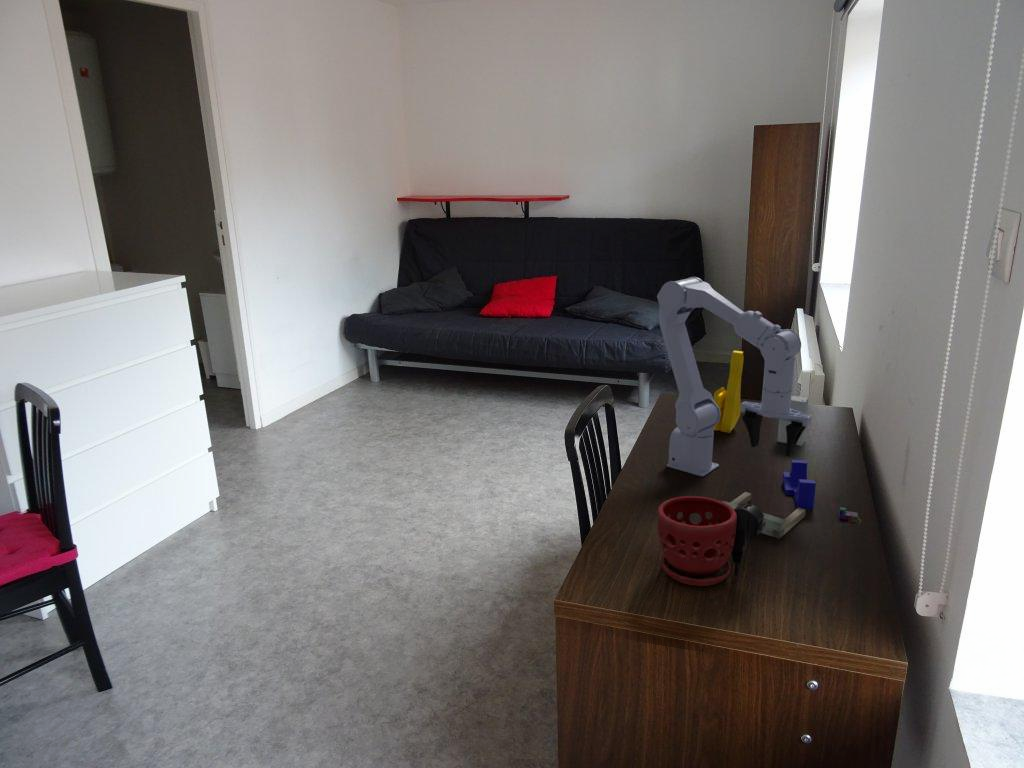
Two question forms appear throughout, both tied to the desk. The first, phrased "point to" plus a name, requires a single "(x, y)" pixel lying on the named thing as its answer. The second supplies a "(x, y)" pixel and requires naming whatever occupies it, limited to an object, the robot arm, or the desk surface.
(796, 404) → the skincare box
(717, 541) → the plant pot
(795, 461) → the cable clip
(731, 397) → the figure statuette
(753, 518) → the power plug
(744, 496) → the channel
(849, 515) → the multicolored checkered block
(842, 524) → the desk surface
